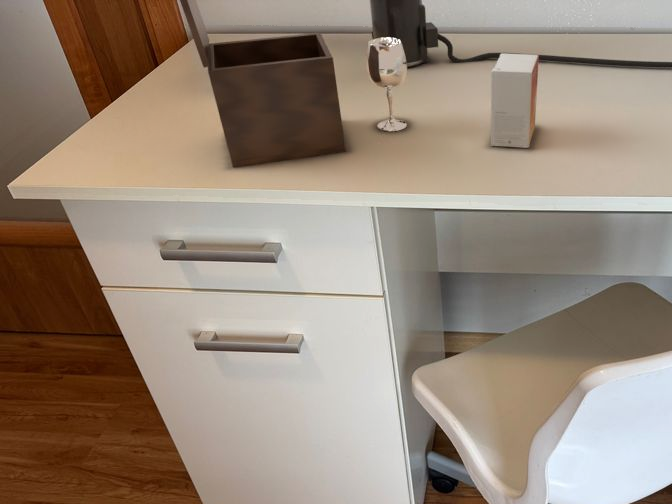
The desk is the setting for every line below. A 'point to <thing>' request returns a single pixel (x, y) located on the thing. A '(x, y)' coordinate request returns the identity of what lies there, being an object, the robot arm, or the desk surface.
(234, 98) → the chest
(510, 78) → the small box
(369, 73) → the wineglass
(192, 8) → the chest lid
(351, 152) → the desk surface
